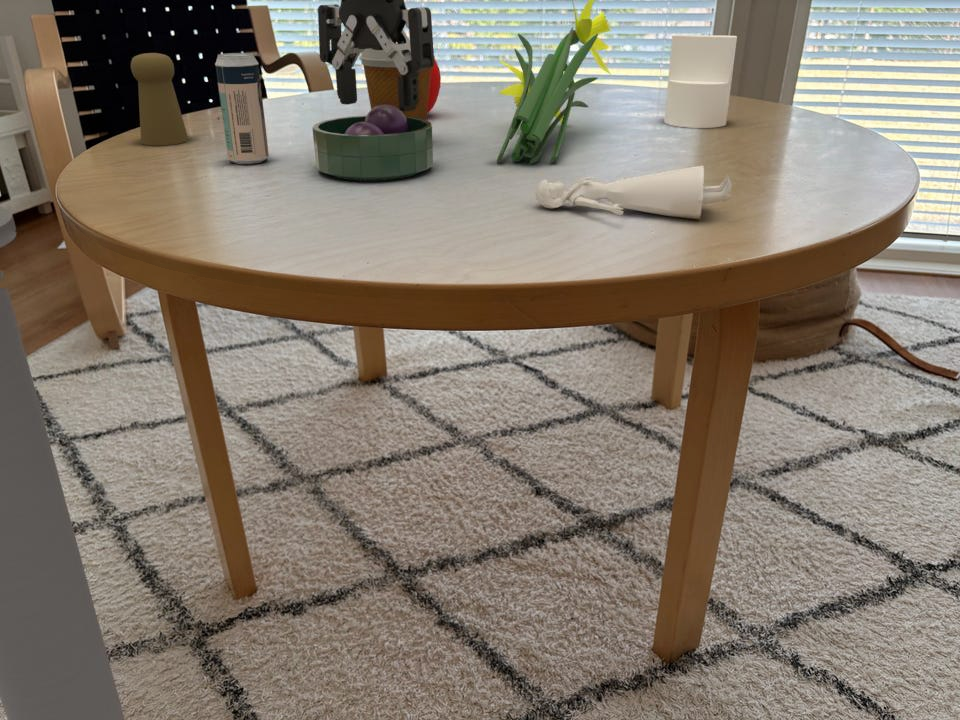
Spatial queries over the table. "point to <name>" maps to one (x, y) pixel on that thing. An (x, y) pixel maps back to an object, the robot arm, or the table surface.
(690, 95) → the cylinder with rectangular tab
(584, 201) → the woman figurine
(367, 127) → the ball left
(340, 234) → the table surface
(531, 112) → the daffodil flowers
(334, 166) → the bowl
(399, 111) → the ball front
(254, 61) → the beer can
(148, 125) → the olive pawn
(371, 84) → the disposable coffee cup
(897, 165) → the table surface
